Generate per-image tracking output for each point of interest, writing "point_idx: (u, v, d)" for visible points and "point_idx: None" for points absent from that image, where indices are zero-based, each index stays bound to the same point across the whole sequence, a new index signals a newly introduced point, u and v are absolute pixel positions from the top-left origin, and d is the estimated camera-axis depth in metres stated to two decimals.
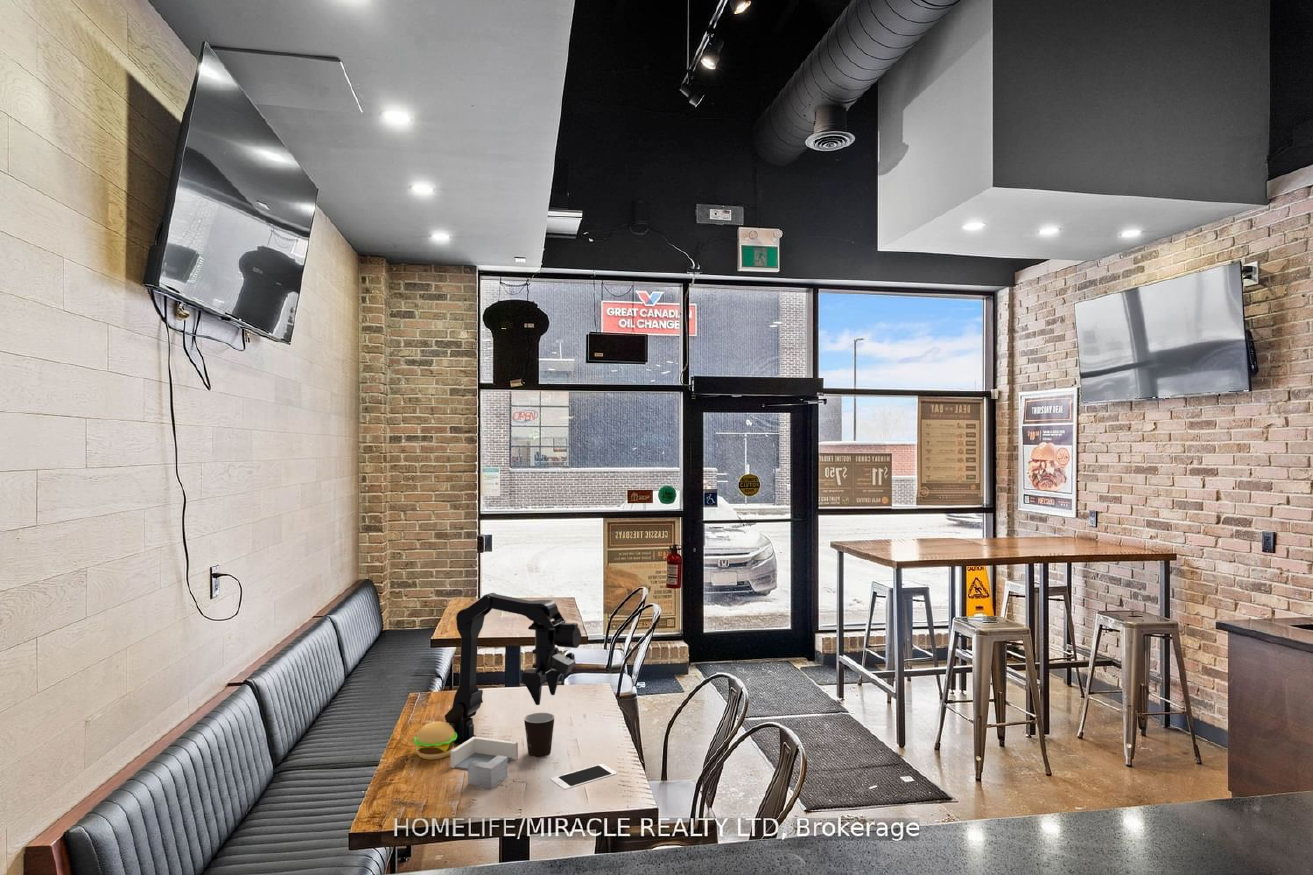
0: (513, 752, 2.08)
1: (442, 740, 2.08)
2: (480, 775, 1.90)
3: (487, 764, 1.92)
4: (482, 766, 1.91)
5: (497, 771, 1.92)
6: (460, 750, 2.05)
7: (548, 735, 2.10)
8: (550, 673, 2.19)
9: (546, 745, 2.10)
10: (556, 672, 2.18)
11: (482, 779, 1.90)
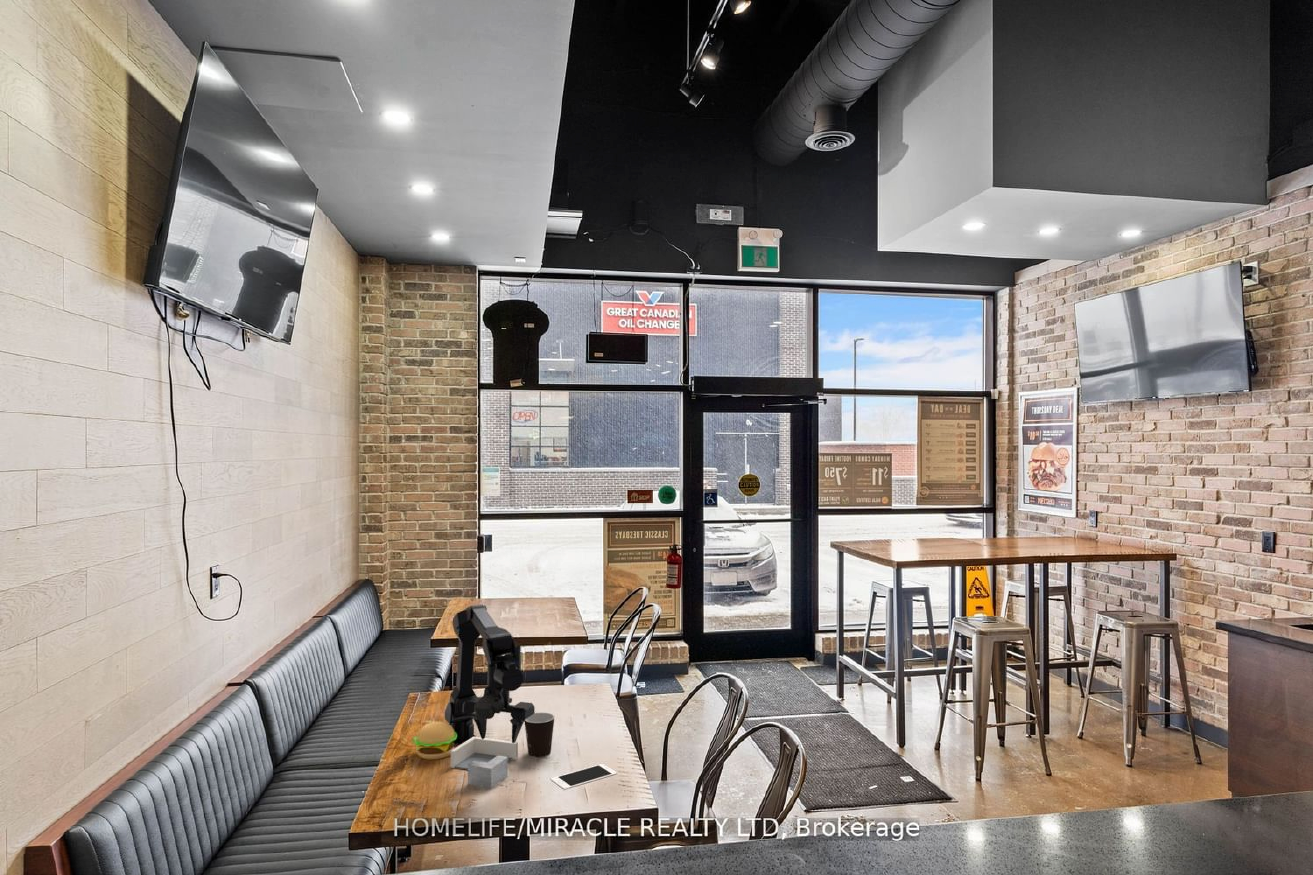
0: (513, 752, 2.08)
1: (442, 740, 2.08)
2: (480, 775, 1.90)
3: (487, 764, 1.92)
4: (482, 766, 1.91)
5: (497, 771, 1.92)
6: (460, 750, 2.05)
7: (548, 735, 2.10)
8: None
9: (546, 745, 2.10)
10: None
11: (482, 779, 1.90)
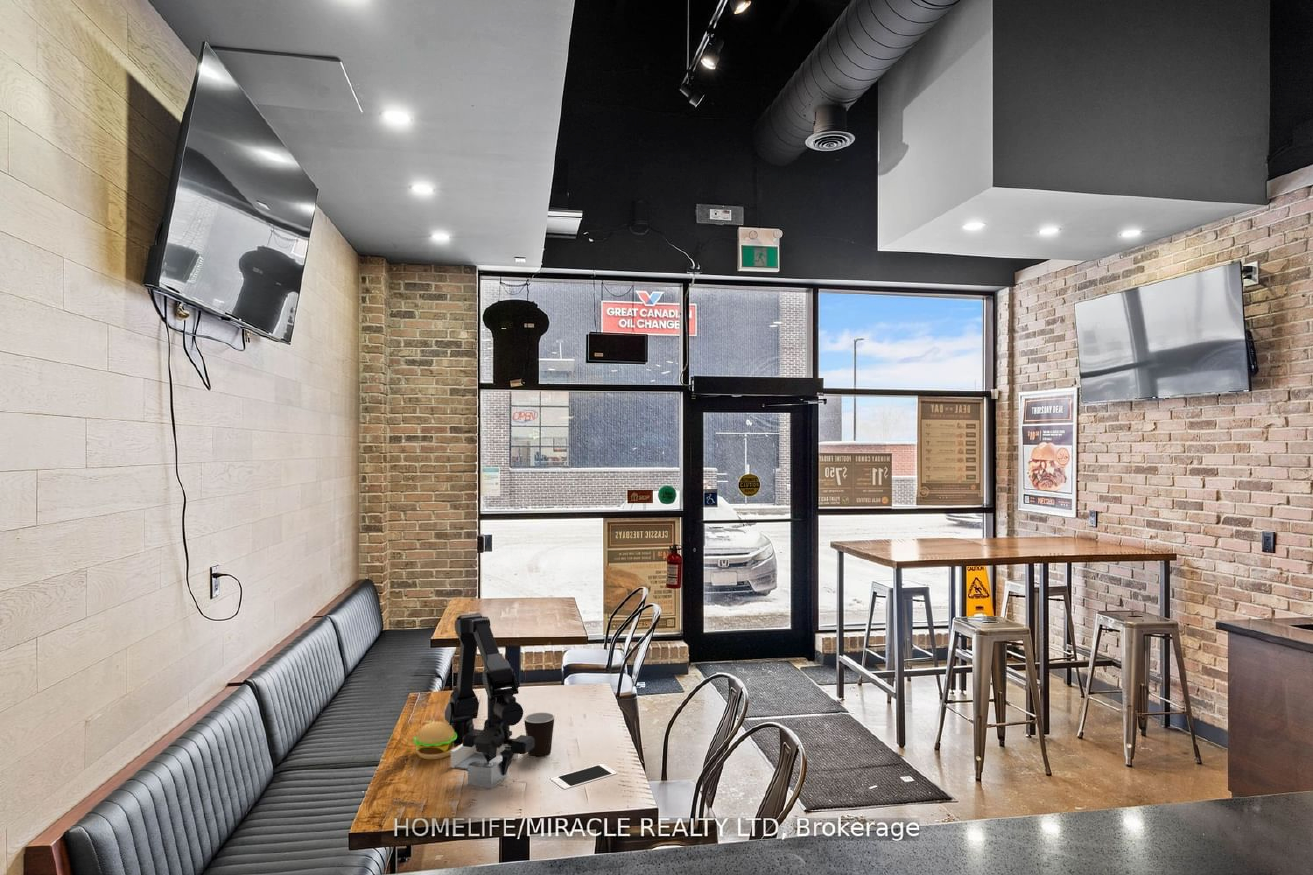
0: None
1: (442, 740, 2.08)
2: (480, 775, 1.90)
3: (487, 764, 1.92)
4: (482, 765, 1.91)
5: (497, 770, 1.92)
6: (460, 750, 2.05)
7: (548, 735, 2.10)
8: None
9: (546, 745, 2.10)
10: None
11: (482, 779, 1.90)
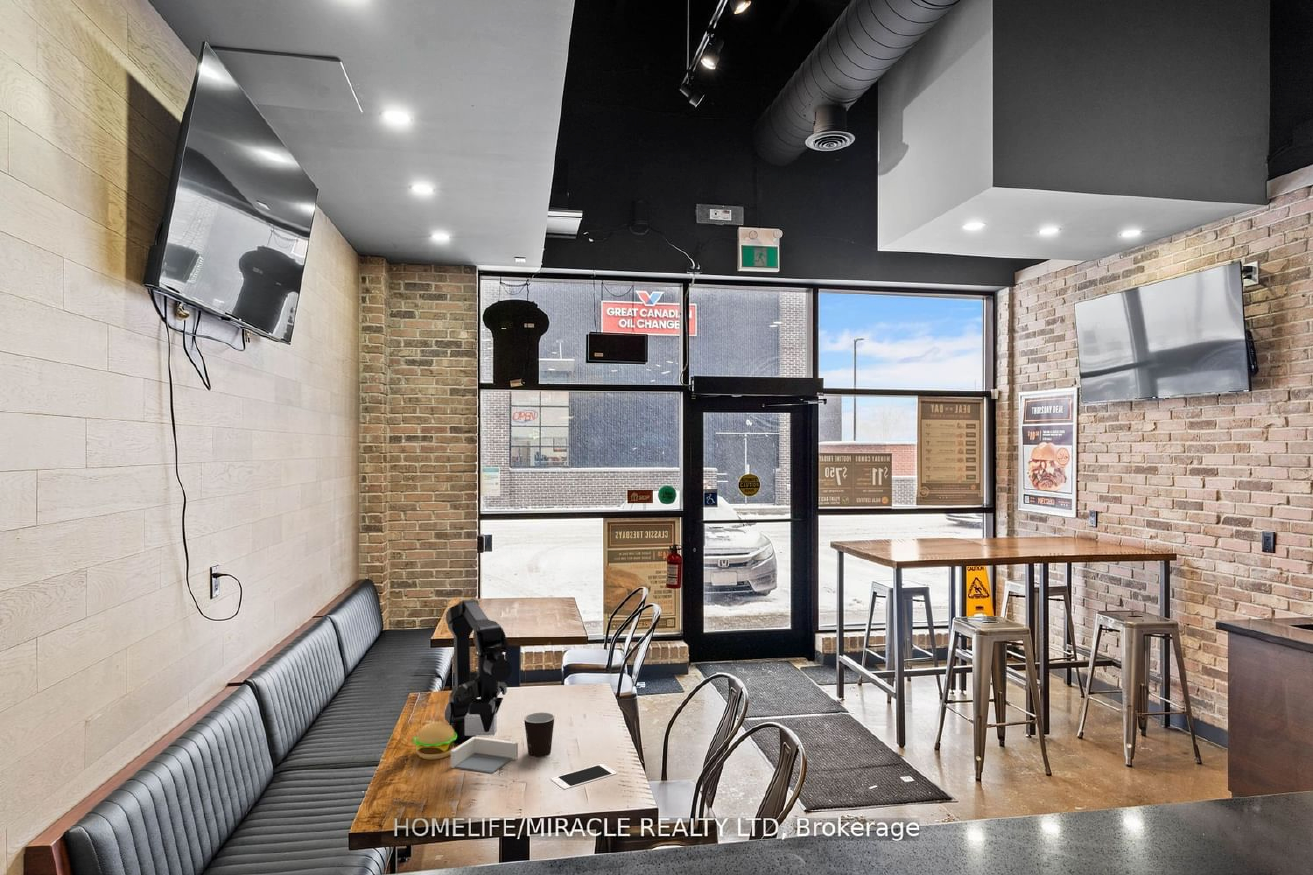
0: (513, 752, 2.08)
1: (442, 740, 2.08)
2: None
3: None
4: None
5: (474, 723, 2.00)
6: (460, 750, 2.05)
7: (548, 735, 2.10)
8: None
9: (546, 745, 2.10)
10: None
11: None
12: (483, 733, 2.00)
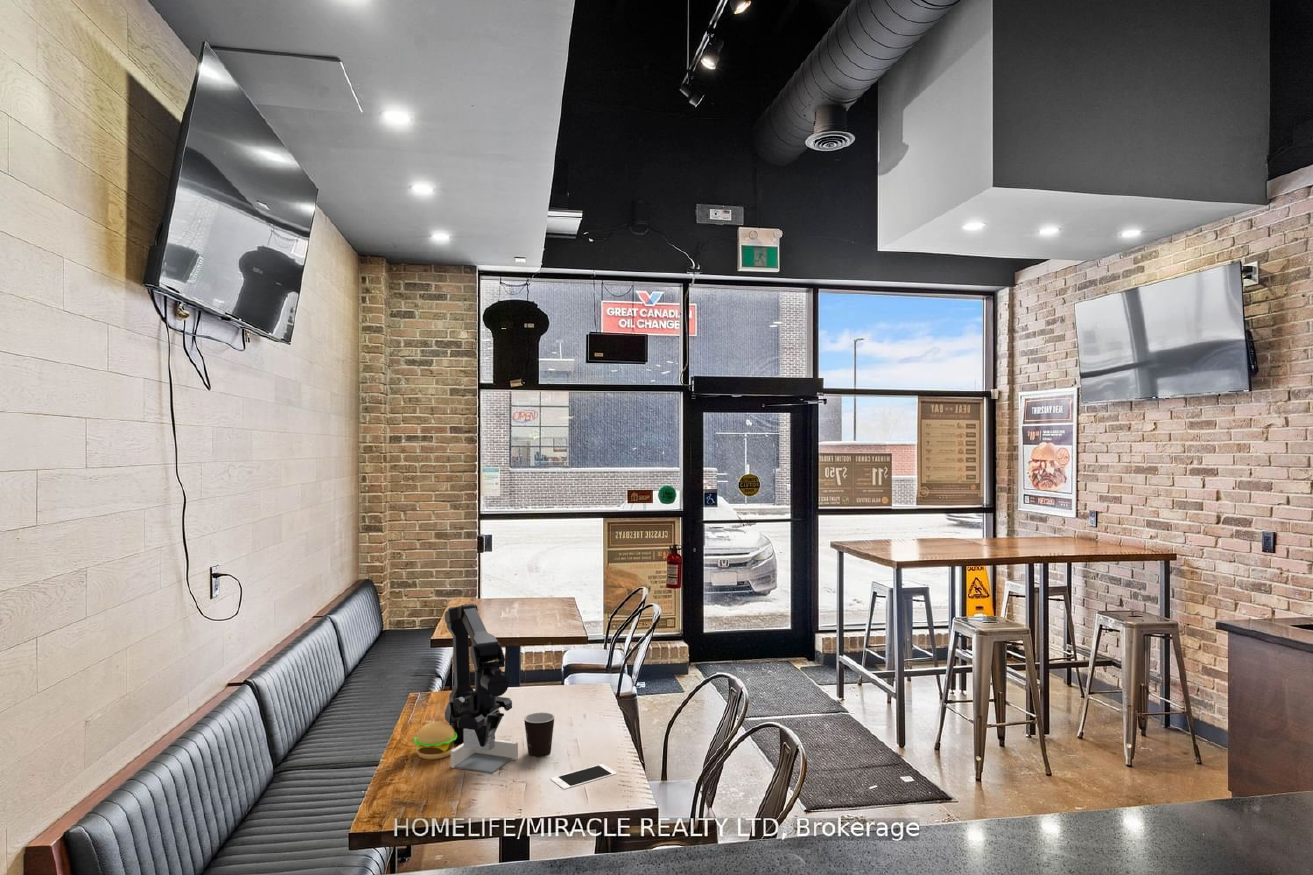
0: (513, 752, 2.08)
1: (442, 740, 2.08)
2: None
3: None
4: None
5: (472, 736, 2.02)
6: (460, 750, 2.05)
7: (548, 735, 2.10)
8: None
9: (546, 745, 2.10)
10: None
11: None
12: (479, 747, 2.02)
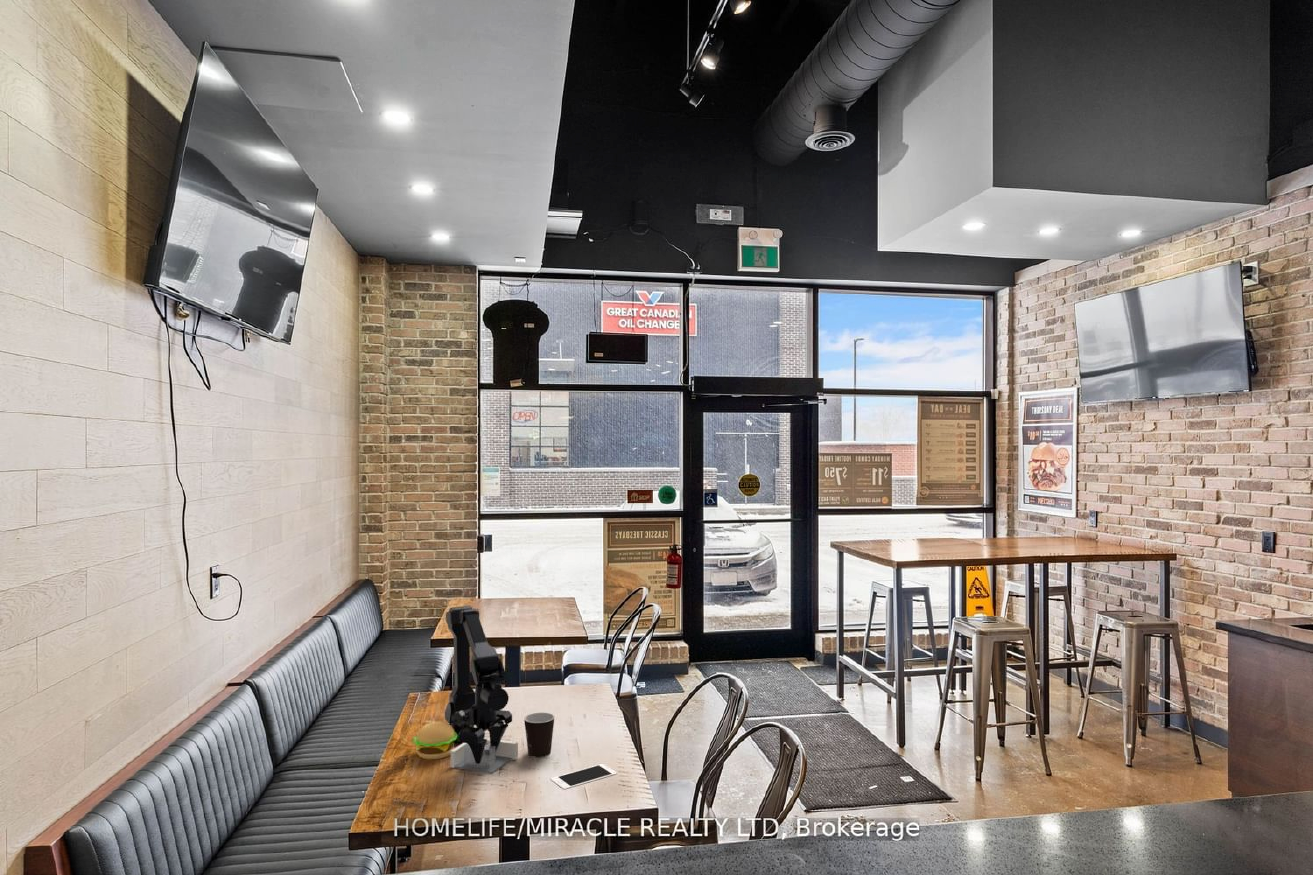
0: (513, 752, 2.08)
1: (442, 740, 2.08)
2: None
3: None
4: None
5: (472, 754, 2.02)
6: (460, 750, 2.05)
7: (548, 735, 2.10)
8: None
9: (546, 745, 2.10)
10: None
11: None
12: (480, 765, 2.01)
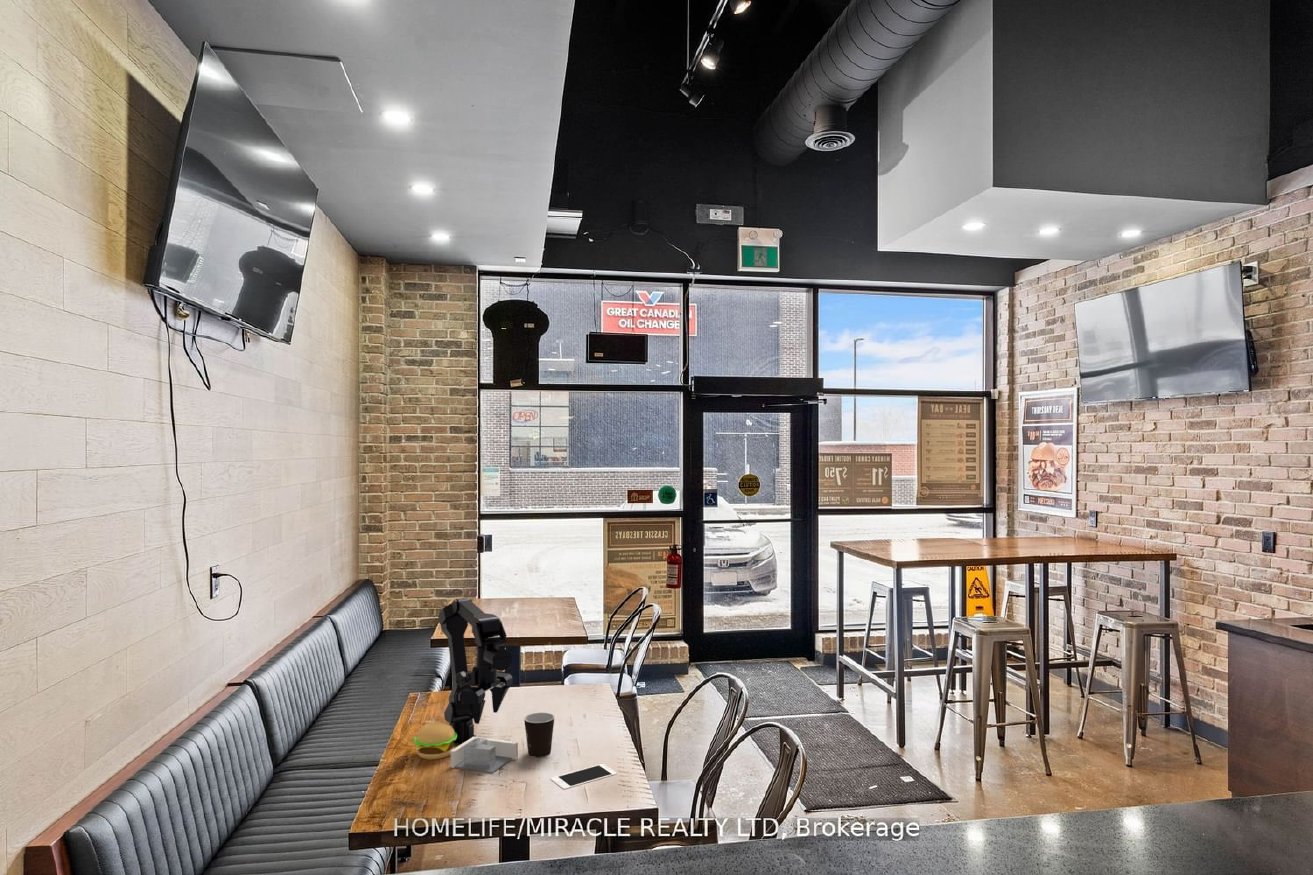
0: (513, 752, 2.08)
1: (442, 740, 2.08)
2: None
3: (475, 744, 2.05)
4: (472, 742, 2.06)
5: (472, 754, 2.02)
6: (460, 750, 2.05)
7: (548, 735, 2.10)
8: None
9: (546, 745, 2.10)
10: None
11: None
12: (480, 765, 2.01)
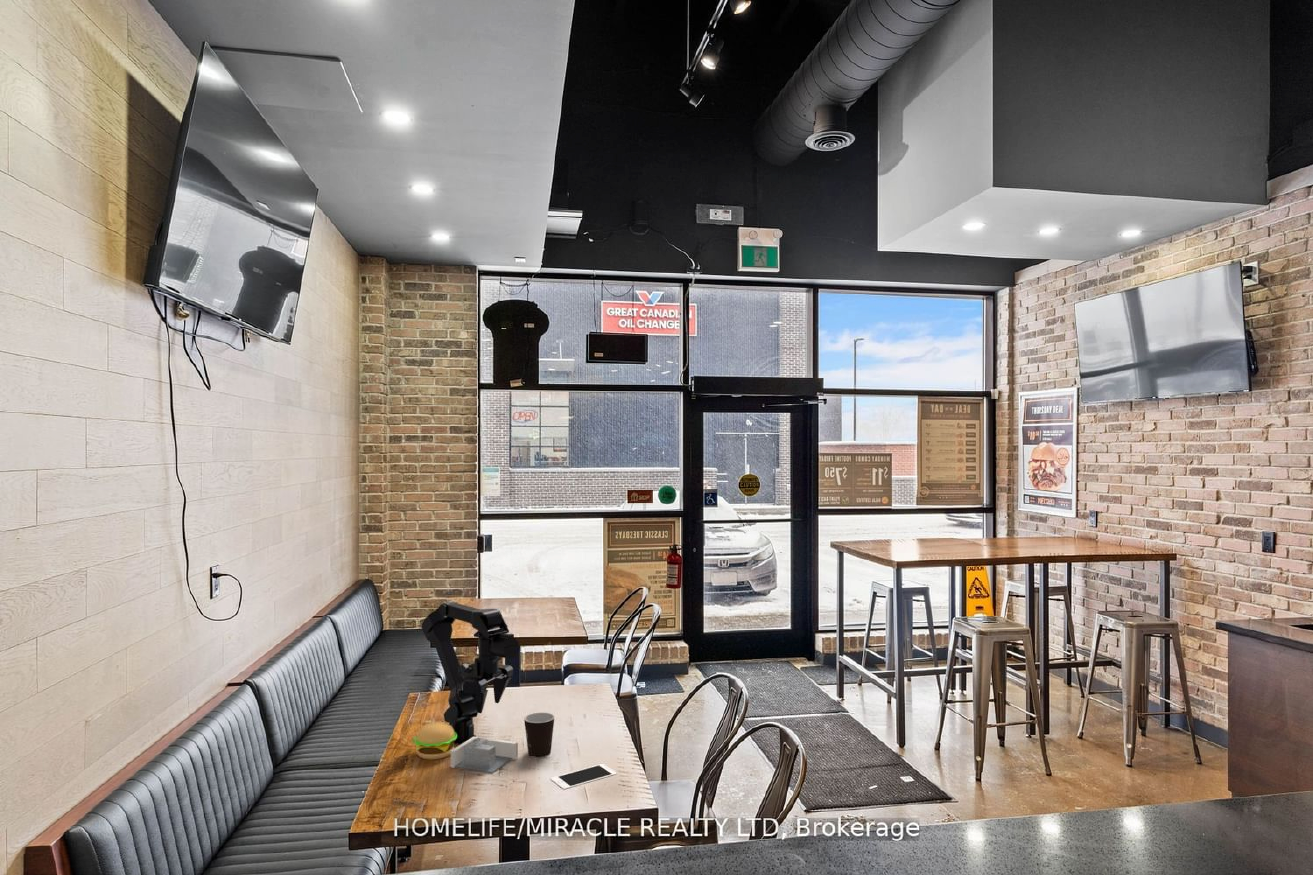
0: (513, 752, 2.08)
1: (442, 740, 2.08)
2: None
3: (475, 744, 2.05)
4: (472, 742, 2.06)
5: (472, 754, 2.02)
6: (460, 750, 2.05)
7: (548, 735, 2.10)
8: None
9: (546, 745, 2.10)
10: None
11: None
12: (480, 765, 2.01)
